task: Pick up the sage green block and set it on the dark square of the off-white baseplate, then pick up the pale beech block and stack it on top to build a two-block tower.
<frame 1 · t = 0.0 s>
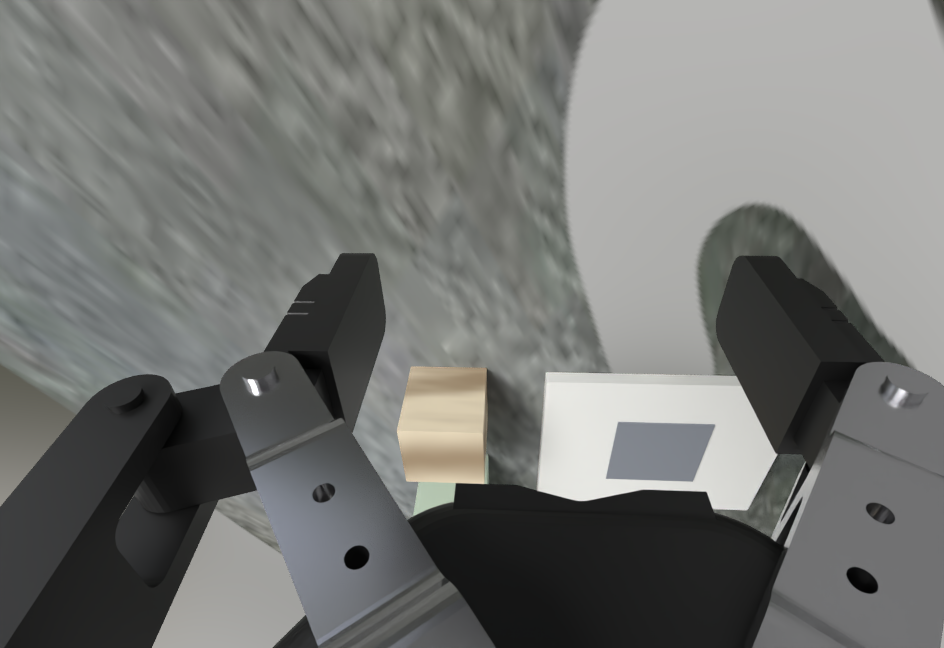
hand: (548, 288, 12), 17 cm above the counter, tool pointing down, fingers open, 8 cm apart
baseplate: (654, 442, 41), on the counter
beech block: (451, 393, 39), on the counter
sage block: (457, 472, 46), on the counter
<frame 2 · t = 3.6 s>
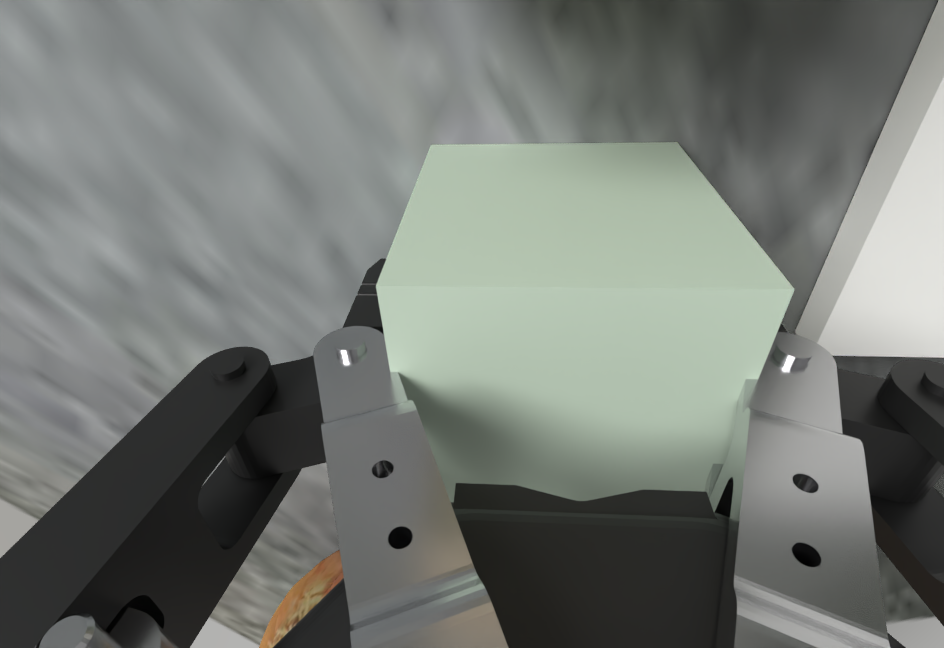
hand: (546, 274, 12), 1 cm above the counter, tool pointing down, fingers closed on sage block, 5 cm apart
sage block: (545, 251, 13), on the counter, touching gripper
onion: (411, 549, 23), on the counter
when the fingers open (4 cm above the counter, at t = 9.2 s): sage block drops 2 cm, resting on baseplate.
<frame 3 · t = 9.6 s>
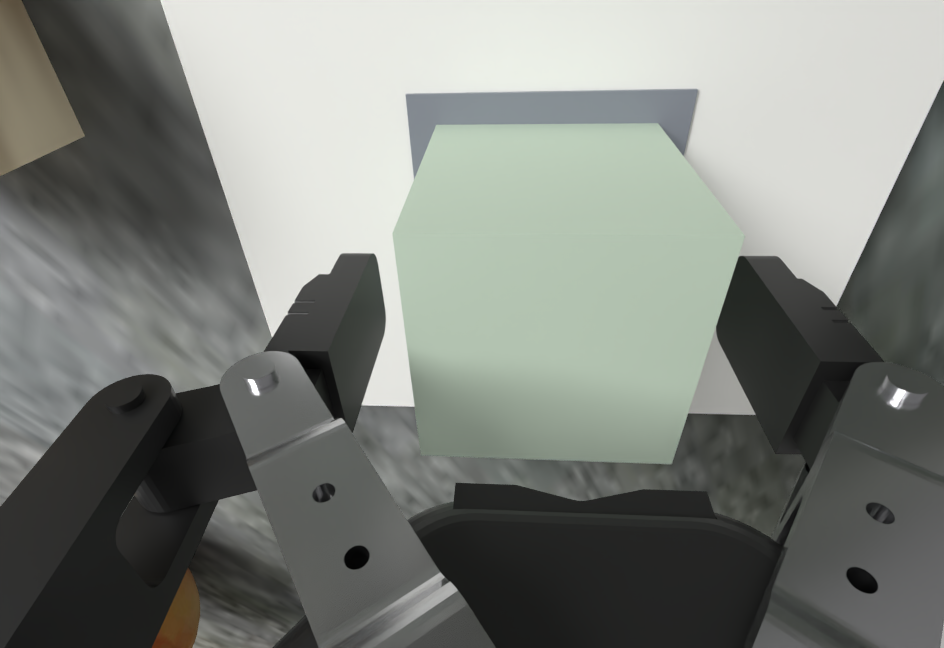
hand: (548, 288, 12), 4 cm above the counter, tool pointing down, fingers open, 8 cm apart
baseplate: (540, 208, 15), on the counter
sage block: (539, 224, 15), point 1 cm above the counter, touching baseplate
onion: (145, 540, 29), on the counter
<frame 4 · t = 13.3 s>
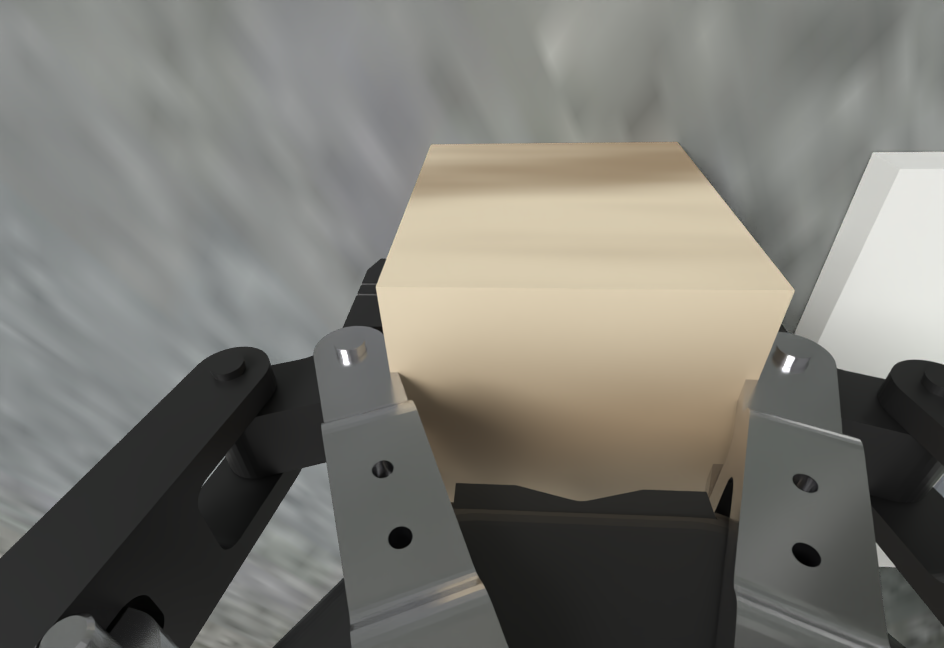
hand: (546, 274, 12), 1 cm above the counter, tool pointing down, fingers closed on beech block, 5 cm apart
beech block: (545, 251, 13), on the counter, touching gripper
when the fingers open (9 cm above the counter, at t = 18.7 s): beech block drops 1 cm, resting on sage block.
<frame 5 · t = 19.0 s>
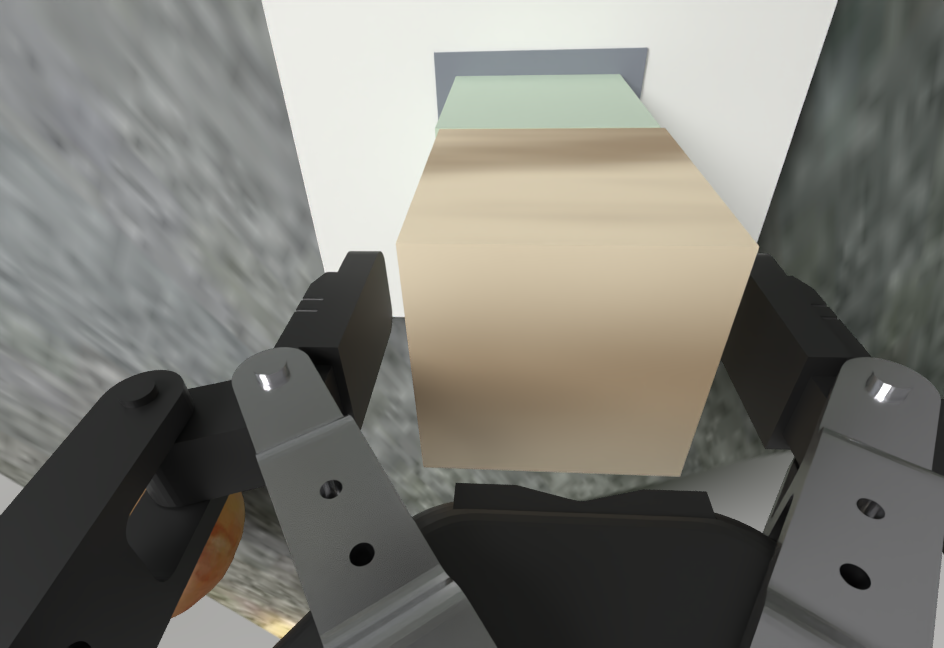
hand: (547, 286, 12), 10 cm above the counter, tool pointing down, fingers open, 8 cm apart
baseplate: (533, 146, 20), on the counter
beech block: (543, 230, 14), point 7 cm above the counter, touching sage block
sage block: (533, 156, 19), point 1 cm above the counter, touching baseplate, beech block
onion: (195, 458, 34), on the counter
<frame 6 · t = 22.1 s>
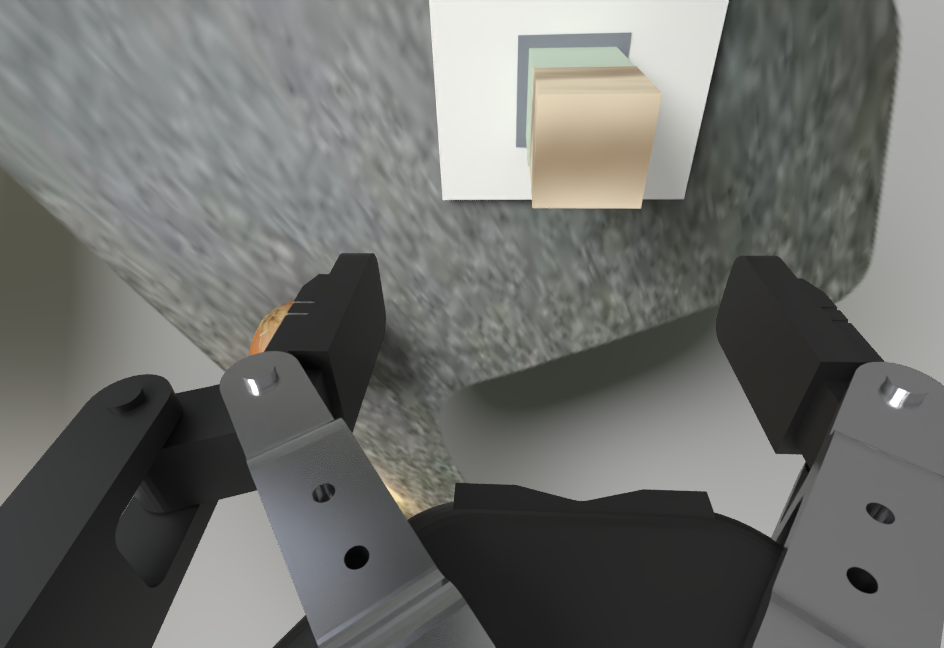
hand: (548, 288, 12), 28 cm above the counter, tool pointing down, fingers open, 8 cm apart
baseplate: (568, 89, 35), on the counter
beech block: (579, 119, 30), point 7 cm above the counter, touching sage block
sage block: (568, 93, 35), point 1 cm above the counter, touching baseplate, beech block
onion: (326, 319, 49), on the counter
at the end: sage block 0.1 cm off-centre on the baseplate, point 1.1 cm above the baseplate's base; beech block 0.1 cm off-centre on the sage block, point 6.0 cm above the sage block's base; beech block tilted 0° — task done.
